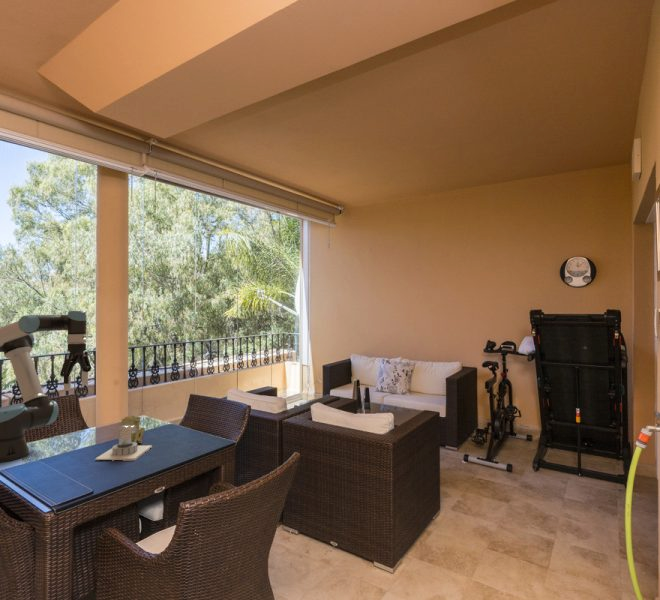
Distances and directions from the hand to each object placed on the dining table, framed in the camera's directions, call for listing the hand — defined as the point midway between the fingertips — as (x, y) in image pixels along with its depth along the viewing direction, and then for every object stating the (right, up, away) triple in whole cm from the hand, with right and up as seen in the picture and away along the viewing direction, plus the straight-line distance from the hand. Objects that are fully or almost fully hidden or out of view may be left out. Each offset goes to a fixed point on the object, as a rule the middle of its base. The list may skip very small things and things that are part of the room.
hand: (76, 387), depth 195 cm
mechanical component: (+20, -33, +15) cm, 41 cm away
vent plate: (+23, -31, 0) cm, 39 cm away
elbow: (+24, -30, +1) cm, 39 cm away
